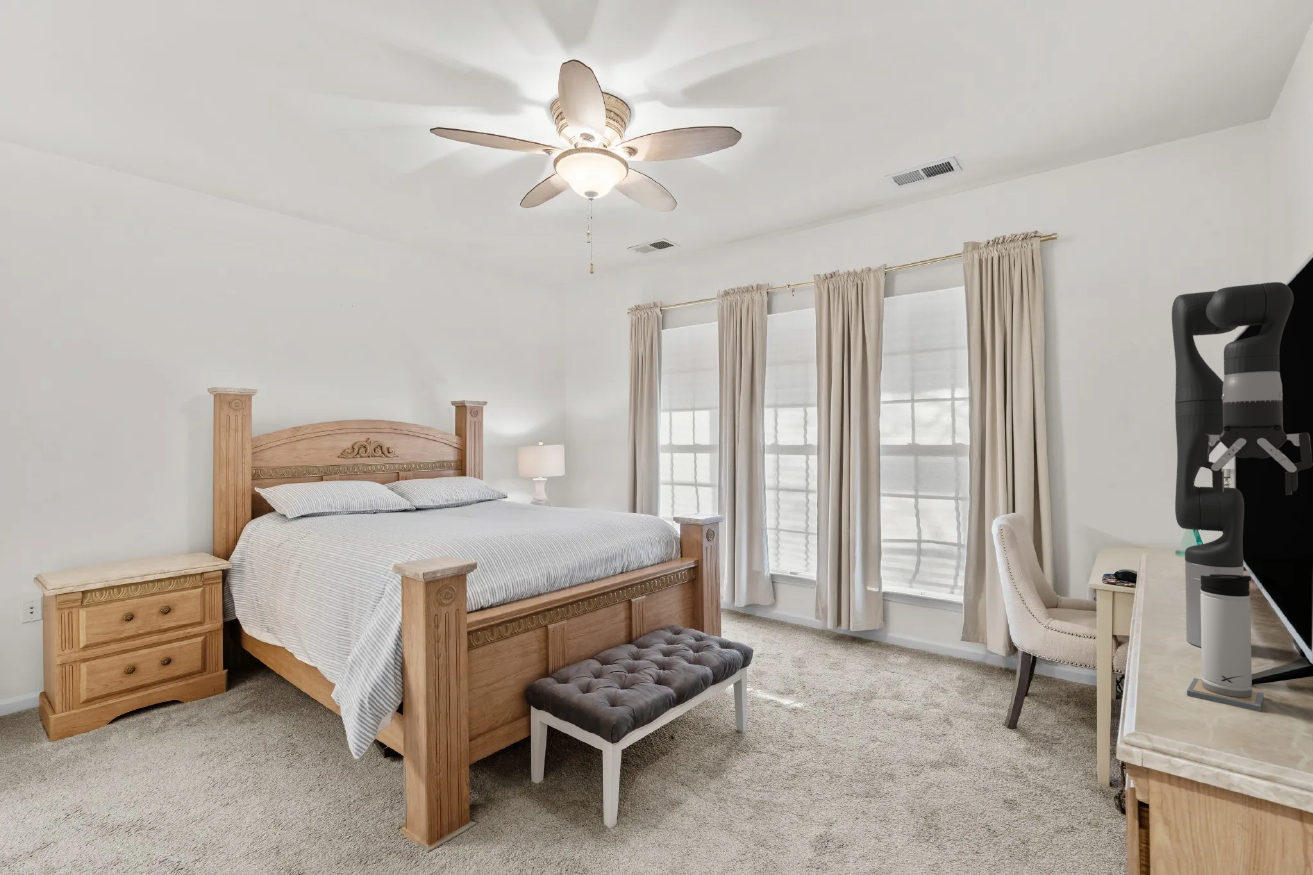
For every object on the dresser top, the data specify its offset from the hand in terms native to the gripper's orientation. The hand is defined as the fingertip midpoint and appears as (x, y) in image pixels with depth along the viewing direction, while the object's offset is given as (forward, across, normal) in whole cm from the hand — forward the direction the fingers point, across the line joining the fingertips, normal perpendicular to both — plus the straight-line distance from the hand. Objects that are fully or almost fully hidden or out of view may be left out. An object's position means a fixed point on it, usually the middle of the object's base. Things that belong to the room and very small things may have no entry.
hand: (1253, 493), depth 109 cm
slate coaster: (+34, +4, +7) cm, 35 cm away
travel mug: (+33, +3, +7) cm, 34 cm away
